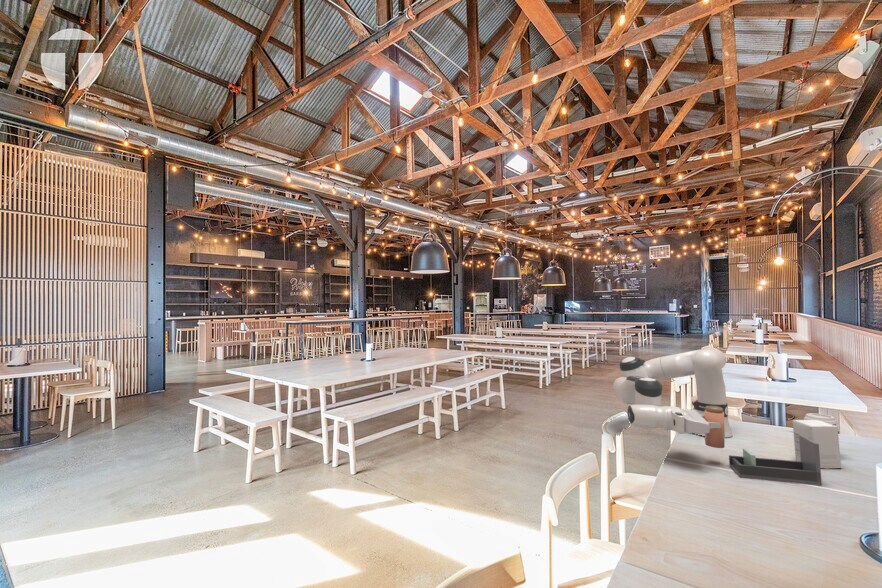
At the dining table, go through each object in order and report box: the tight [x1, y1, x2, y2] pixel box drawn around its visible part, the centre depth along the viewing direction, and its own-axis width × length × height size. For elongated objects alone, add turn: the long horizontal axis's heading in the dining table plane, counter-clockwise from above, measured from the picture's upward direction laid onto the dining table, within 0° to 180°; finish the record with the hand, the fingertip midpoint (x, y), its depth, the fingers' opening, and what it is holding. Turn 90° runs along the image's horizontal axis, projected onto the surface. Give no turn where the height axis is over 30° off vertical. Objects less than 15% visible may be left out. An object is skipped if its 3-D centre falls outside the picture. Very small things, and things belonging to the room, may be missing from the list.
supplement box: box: [792, 419, 842, 469], centre depth 145 cm, size 9×9×15 cm
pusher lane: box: [728, 435, 822, 486], centre depth 136 cm, size 22×10×13 cm, turn 70°
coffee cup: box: [803, 412, 839, 426], centre depth 154 cm, size 10×10×15 cm
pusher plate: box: [742, 447, 757, 466], centre depth 138 cm, size 1×7×6 cm, turn 160°
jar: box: [704, 406, 726, 449], centre depth 148 cm, size 6×6×14 cm
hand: (717, 422), depth 148 cm, fingers closed on jar, 6 cm apart
